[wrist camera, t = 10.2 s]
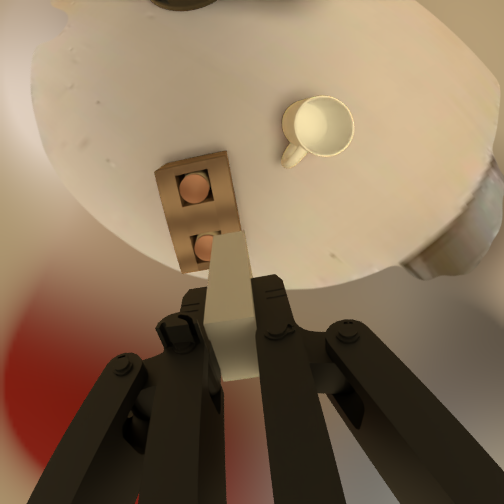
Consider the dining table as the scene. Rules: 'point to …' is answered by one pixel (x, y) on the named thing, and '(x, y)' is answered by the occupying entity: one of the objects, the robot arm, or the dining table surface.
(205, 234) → the peg far
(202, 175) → the peg near
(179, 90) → the dining table surface
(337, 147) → the mug
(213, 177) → the socket block
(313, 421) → the robot arm
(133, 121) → the dining table surface
